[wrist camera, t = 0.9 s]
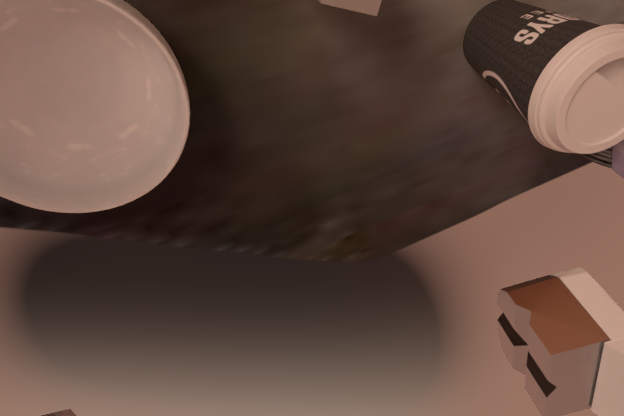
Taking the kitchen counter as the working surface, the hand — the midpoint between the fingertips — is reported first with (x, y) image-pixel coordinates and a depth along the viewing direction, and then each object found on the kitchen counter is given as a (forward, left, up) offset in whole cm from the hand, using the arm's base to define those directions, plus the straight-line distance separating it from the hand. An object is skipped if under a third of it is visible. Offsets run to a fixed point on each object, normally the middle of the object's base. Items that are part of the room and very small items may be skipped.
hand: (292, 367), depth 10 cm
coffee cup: (+28, 0, -36) cm, 46 cm away
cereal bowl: (-7, -10, -36) cm, 38 cm away
